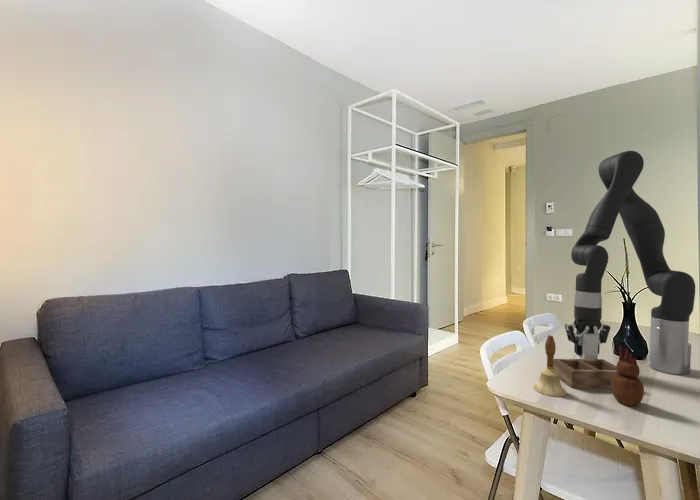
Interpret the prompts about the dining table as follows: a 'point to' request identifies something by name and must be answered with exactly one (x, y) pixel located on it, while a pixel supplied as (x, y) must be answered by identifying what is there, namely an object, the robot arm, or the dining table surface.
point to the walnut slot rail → (585, 372)
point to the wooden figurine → (627, 380)
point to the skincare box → (589, 347)
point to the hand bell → (550, 374)
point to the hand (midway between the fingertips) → (586, 354)
